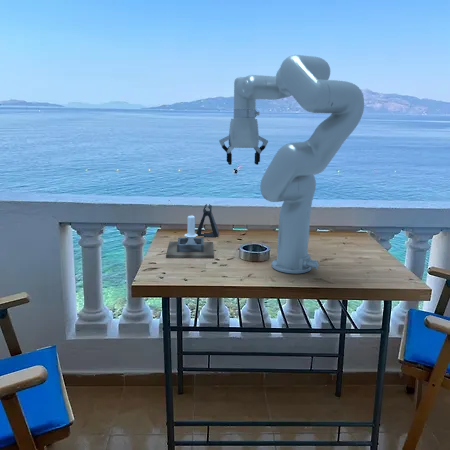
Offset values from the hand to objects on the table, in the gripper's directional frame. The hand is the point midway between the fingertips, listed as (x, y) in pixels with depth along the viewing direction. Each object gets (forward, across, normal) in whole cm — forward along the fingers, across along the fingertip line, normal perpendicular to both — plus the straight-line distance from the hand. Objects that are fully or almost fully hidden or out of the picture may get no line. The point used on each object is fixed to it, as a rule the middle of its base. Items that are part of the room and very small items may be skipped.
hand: (243, 164), depth 162 cm
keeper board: (+30, +19, +6) cm, 36 cm away
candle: (+29, +19, +6) cm, 35 cm away
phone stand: (+30, +11, -14) cm, 35 cm away
